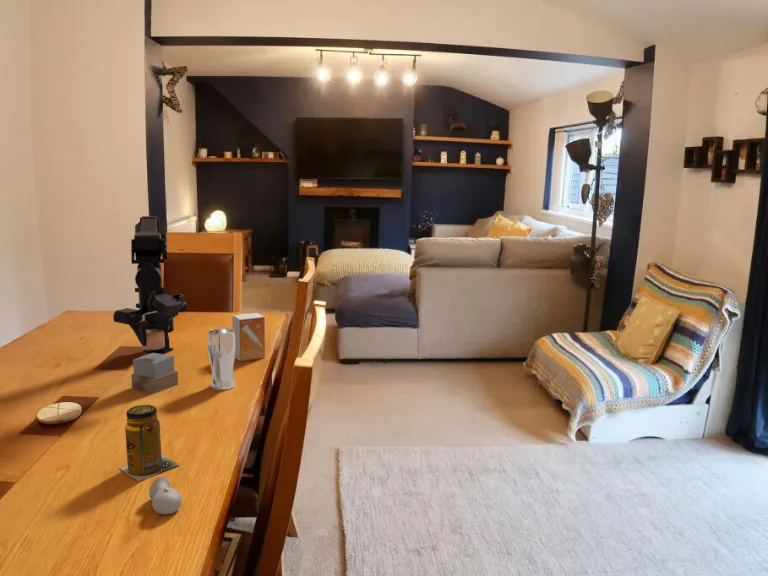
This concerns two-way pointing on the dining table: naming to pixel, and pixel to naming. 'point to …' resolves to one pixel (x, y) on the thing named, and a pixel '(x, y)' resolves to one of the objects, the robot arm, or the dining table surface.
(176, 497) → the pale two-lobed sculpture
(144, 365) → the grey top block
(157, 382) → the walnut base block
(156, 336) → the brown rounded cylinder
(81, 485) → the dining table surface
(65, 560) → the dining table surface
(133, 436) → the condiment
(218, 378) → the beer glass
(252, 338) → the small box
